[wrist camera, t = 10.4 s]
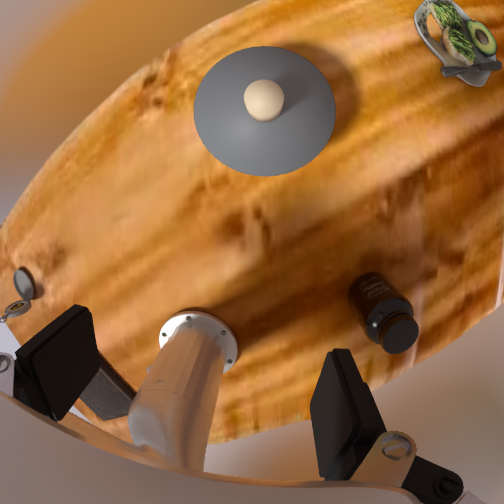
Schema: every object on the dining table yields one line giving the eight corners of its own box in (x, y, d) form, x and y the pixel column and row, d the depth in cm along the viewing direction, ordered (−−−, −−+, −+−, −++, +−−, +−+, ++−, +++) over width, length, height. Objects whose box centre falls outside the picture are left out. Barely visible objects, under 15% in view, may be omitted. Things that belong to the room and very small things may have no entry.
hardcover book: (107, 415, 52) (103, 421, 49) (42, 342, 47) (36, 348, 45) (147, 403, 48) (144, 410, 46) (72, 317, 44) (66, 323, 41)
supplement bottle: (341, 310, 39) (364, 360, 27) (354, 267, 37) (385, 307, 25) (381, 315, 39) (412, 361, 27) (395, 274, 37) (435, 312, 25)
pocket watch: (21, 262, 41) (-12, 279, 31) (44, 295, 42) (12, 318, 33) (11, 283, 42) (-19, 301, 33) (32, 314, 44) (3, 336, 34)
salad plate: (469, 116, 29) (486, 113, 25) (390, 31, 27) (402, 19, 22) (500, 61, 24) (514, 57, 20) (434, -10, 22) (445, -20, 17)
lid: (254, 204, 30) (252, 210, 25) (169, 105, 27) (153, 95, 23) (360, 123, 27) (376, 116, 22) (272, 28, 24) (273, 8, 19)
